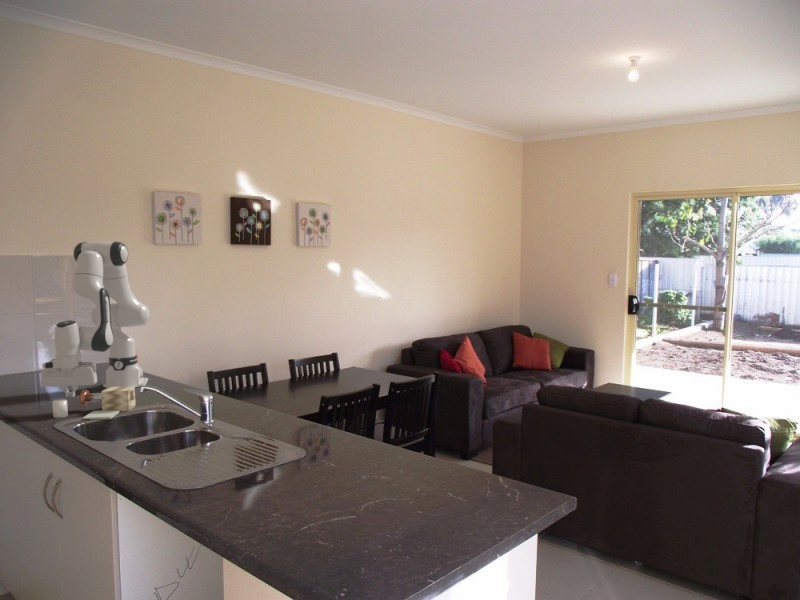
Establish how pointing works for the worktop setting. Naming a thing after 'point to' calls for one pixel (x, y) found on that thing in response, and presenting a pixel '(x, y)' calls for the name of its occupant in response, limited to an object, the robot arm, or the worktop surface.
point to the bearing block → (118, 398)
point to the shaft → (89, 397)
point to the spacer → (60, 408)
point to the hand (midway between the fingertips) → (70, 396)
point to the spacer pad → (102, 414)
